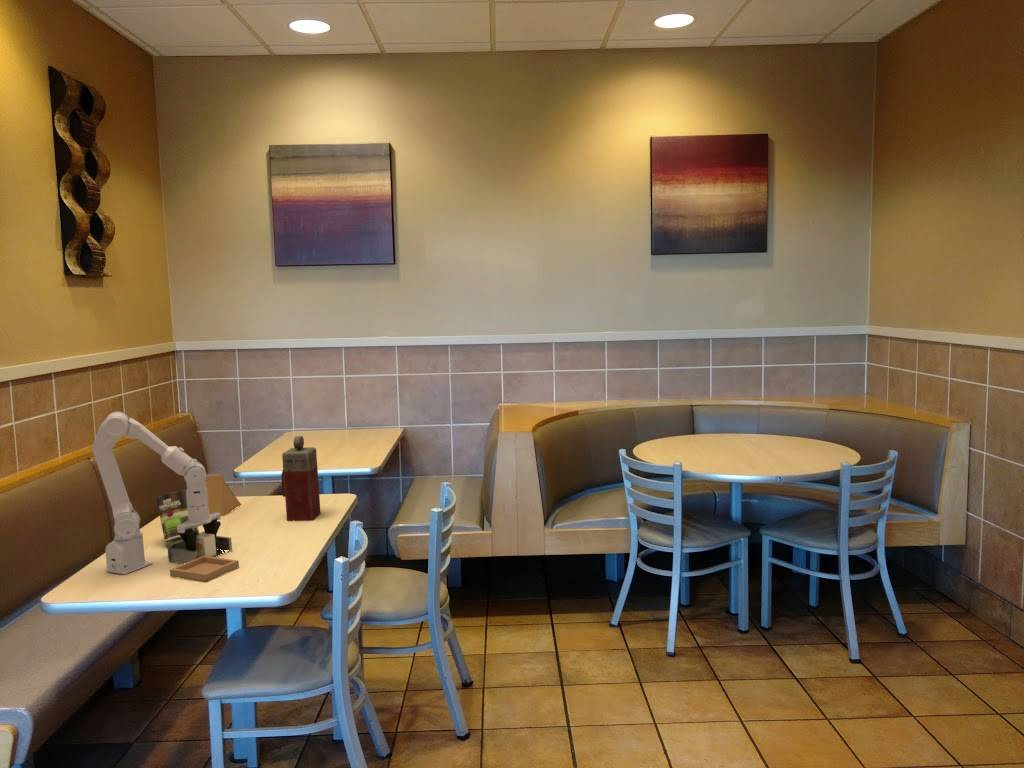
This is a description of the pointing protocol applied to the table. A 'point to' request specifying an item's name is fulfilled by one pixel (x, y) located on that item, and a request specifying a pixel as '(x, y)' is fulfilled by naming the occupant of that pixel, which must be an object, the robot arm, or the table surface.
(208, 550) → the block with grey knob
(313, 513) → the red pepper mill
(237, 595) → the table surface
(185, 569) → the tray
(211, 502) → the sandwich container
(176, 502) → the coffee can
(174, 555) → the bay
